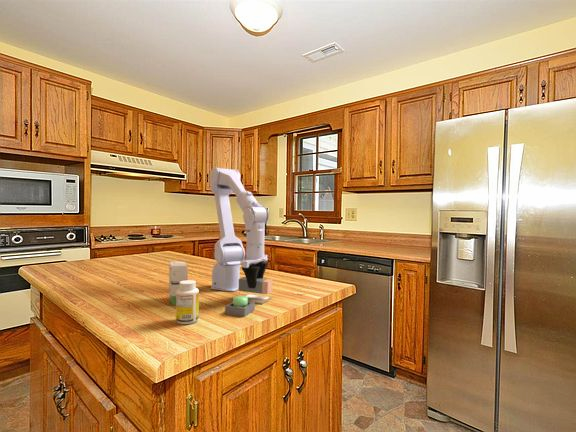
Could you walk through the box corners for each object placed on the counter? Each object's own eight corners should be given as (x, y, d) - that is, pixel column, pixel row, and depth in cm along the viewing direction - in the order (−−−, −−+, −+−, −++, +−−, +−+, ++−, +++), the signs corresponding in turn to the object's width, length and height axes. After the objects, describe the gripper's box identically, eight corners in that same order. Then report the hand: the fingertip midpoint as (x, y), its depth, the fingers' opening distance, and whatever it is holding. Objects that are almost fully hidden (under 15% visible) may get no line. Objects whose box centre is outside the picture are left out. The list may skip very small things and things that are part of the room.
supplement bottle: (191, 315, 83) (191, 278, 83) (203, 320, 80) (203, 281, 79) (171, 321, 79) (172, 281, 79) (183, 327, 75) (183, 285, 75)
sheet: (237, 301, 97) (237, 299, 97) (248, 295, 104) (248, 293, 104) (262, 304, 94) (262, 303, 94) (271, 298, 101) (271, 296, 101)
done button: (230, 308, 86) (230, 298, 86) (237, 304, 90) (237, 295, 89) (243, 310, 84) (243, 300, 84) (250, 306, 88) (250, 296, 88)
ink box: (188, 303, 94) (188, 264, 93) (170, 305, 91) (171, 266, 91) (184, 296, 101) (184, 260, 101) (168, 297, 99) (168, 261, 99)
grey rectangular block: (238, 290, 99) (238, 279, 98) (244, 288, 102) (244, 276, 102) (267, 294, 95) (267, 282, 95) (272, 291, 99) (272, 279, 98)
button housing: (225, 313, 85) (225, 305, 85) (236, 307, 91) (236, 299, 91) (244, 316, 83) (244, 308, 83) (254, 309, 89) (254, 302, 89)
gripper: (256, 247, 90) (256, 293, 90) (275, 242, 104) (275, 282, 104) (235, 245, 93) (235, 290, 93) (257, 241, 106) (256, 280, 106)
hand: (255, 286), depth 99 cm, fingers closed on grey rectangular block, 4 cm apart
